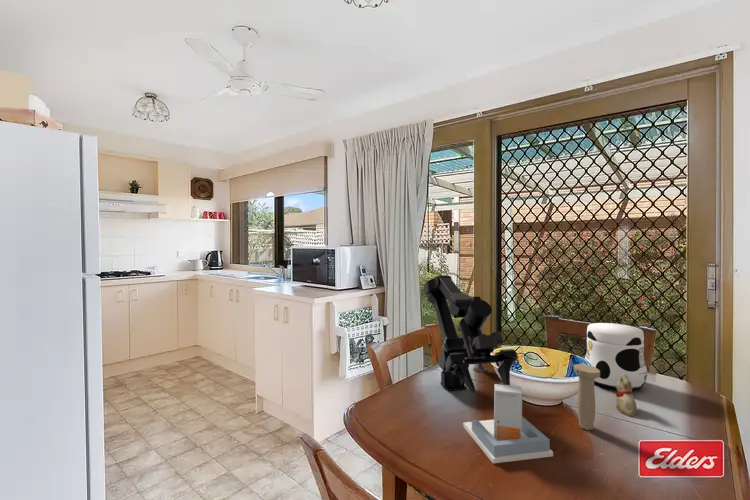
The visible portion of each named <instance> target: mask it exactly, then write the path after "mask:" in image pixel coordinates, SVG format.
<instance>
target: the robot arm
mask: <svg viewBox="0 0 750 500" xmlns="http://www.w3.org/2000/svg"><path fill="white" fill-rule="evenodd" d="M423 292H424V295H426V299H427V301H428V302H429V303H431V304H432V305H433V307H434V310H435V311H434V312H435V315H436V318H437V323H438V325H439V328H440V329H439V330H440V331H441V335H442V341H443V343H442V346H441V349H440V351H441V352H440V354H439V355H438V358H437V363H438V367H439V368H440V369H441V370H442V371H441V372H440V385H442V387H444V389H446V390H447V391H448V392H451V391H459V390H467V389H469V390H470V392H471V393H472V394H473V395H475V394H476V392H477V391H476V387H475V384H474V382H473V379H472V376H471V372H470V370H469V367H470V365H479V364H482V365H483V364H493V363H494V364H495V366H496V367H498V368H497V373H498V375H499V377H500V379H501V381H502V385H511V382H510V381H511V377H510V374H511V372H510V371H511V368H512V366H514V364H515V362H517V360H518V359H519V355H518V353H517V351H516V350H515V349H513V348H507V349H501V350H500V351H499V352H498V353H497V354H493V352H494V349H495V348H499V346H500V345H503V343H504V339H503V335H502V333H501V331H493V332H491V334H486V333H485V334H484V333H483V330H482V328H483V327H484V326H485V325H486V323H487V321H488V319H489V318H490V316H491V315H492V312H493V309H492V306H491V304H489V303H488V302H487V301H485V300H483V299H482V298H481V296H471V295H468V294H465V293H463V292H462V291H461V290H460V288H459V287H458V286H457V284H456V283H455V282H454V281H453V279H452V276H451V275H449V274H447V275H446V274H444V275H443V274H442V275H441V274H439V275H437V276H436V275H435V277H434V278H432V279H429V280H427V281H426V282H425V284H424V286H423ZM448 303H449V304H448ZM453 319H460V320H459V323H458V327H457V330H456V327H455V323H454V320H453ZM457 331H458V332H460V334H461V337H459V336H458V333H457ZM491 354H493V355H491Z"/></svg>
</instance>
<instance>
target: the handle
mask: <svg viewBox="0 0 750 500" xmlns="http://www.w3.org/2000/svg"><path fill="white" fill-rule="evenodd" d="M573 371H574V373H575V374H576V375H577V376H578V389H577V390H578V391H577V401H576V402H577V403H576V405H577V418H578V425H579V428H581V429H582V430H583V429H584V430H585V431H590V430H591V431H593V430H594V428H595V427H594V423H595V420H596V419H595V417H596V395H595V394H596V392H595V382H594V379H595V378H598V377H600V371H599V369H597V368H595V367H593V366H590V365H586V364H584V363H577V364H573Z"/></svg>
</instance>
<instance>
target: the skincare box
mask: <svg viewBox="0 0 750 500" xmlns="http://www.w3.org/2000/svg"><path fill="white" fill-rule="evenodd" d="M493 388H494V391H493V392H494V398H493V400H494V401H493V402H494V403H493V404H494V405H493V406H494V408H493V420H494V438H495V439H496V440H497V441H505V440H514V439H522V417H523V391H522V387H521V386H520V385H519V386H518V385H512V384H510V385H504V384H497V383H494V386H493Z"/></svg>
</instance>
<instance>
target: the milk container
mask: <svg viewBox="0 0 750 500" xmlns="http://www.w3.org/2000/svg"><path fill="white" fill-rule="evenodd" d="M644 335H645V334H644V330H643V329H641V328H639V327H635V326H632V325H628V324H622V323H621V324H620V323H611V322H595V323H589V324H588V325H587V328H586V354H585V356H584V359H586V360H587V361H589V362H590V363H591V365H592V366H593V367H595V368H597V369H599V371H600V377H598V378H595V379H594V384H598V385H600V386H604V387H608V388H612V389H617V388H616V386H617V382H618V381H619V380H620V377H621V375H627V377H628V379H629V381H630V382H631V385H632V386H631V387H632V390H637V389H639V388H642V387H643V386H644V385H645V384H646V383H647V379H648V378H647V377H648V369H647V366H646V362H645V359H644V356H645V355H644V353H645V352H644V351H645V343H644V341H645V336H644Z"/></svg>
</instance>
